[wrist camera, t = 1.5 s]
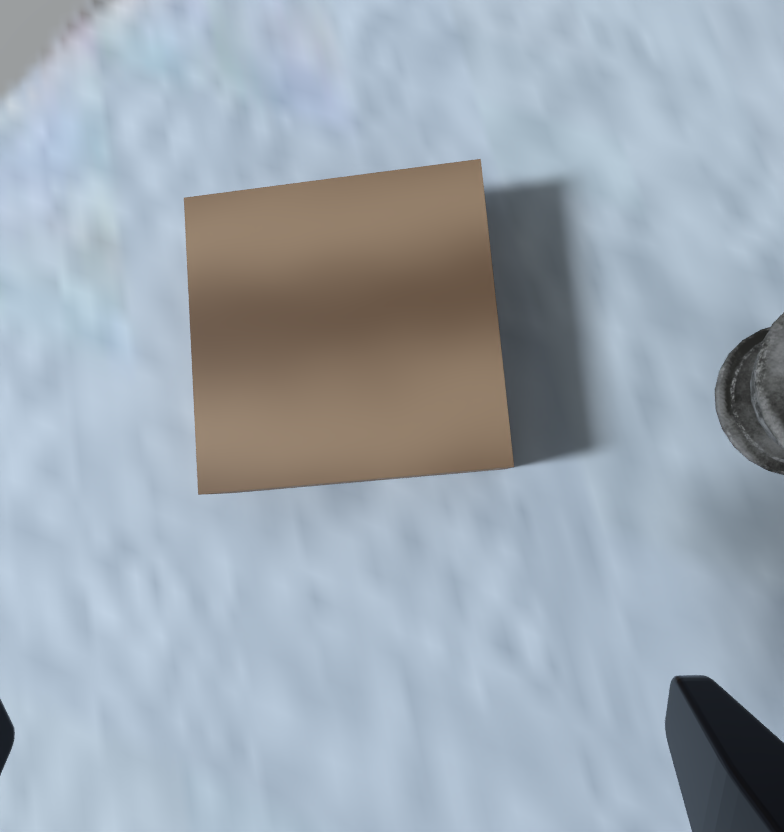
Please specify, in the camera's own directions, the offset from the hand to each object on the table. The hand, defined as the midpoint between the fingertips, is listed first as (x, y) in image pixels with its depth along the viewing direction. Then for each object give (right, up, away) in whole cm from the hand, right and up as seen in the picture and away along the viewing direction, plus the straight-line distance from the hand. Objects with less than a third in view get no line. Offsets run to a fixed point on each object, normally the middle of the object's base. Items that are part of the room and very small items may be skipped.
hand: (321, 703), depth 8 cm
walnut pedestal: (0, +6, +15) cm, 16 cm away
